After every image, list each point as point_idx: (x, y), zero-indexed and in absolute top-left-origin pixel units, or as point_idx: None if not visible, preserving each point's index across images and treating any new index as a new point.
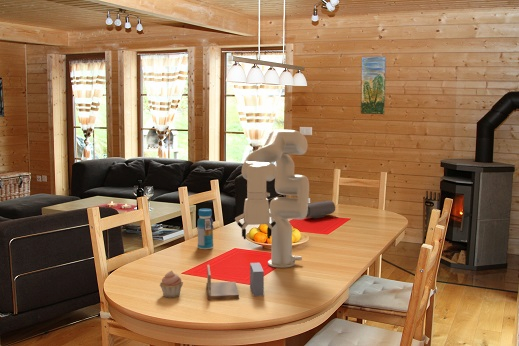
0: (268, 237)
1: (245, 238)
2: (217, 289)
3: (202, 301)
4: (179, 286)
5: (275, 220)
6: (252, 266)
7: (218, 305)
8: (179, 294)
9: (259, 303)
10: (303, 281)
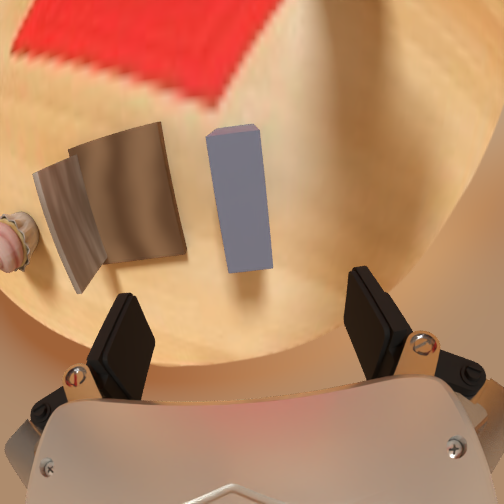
0: (348, 326)
1: (151, 345)
2: (111, 210)
3: None
4: (29, 259)
5: (474, 417)
6: (220, 197)
7: (143, 293)
8: (37, 232)
9: (249, 281)
10: (406, 96)
